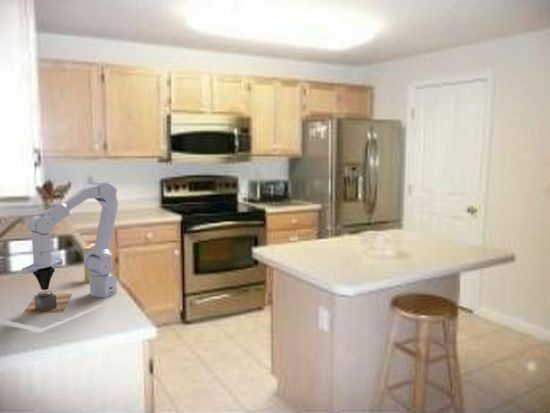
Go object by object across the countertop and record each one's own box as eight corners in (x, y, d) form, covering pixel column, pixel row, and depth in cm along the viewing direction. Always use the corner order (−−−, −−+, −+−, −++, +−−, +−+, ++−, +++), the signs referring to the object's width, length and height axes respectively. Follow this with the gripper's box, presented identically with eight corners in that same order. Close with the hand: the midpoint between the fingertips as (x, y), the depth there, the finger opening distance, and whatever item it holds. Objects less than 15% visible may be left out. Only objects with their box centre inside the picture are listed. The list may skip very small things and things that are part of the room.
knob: (50, 304, 167) (49, 289, 166) (56, 307, 164) (55, 292, 163) (35, 307, 163) (34, 292, 163) (41, 311, 160) (40, 296, 159)
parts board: (35, 298, 176) (35, 295, 176) (72, 295, 180) (72, 292, 180) (21, 318, 156) (20, 315, 156) (63, 315, 160) (63, 312, 159)
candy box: (93, 277, 204) (91, 243, 202) (102, 277, 204) (101, 243, 202) (84, 283, 195) (82, 247, 193) (94, 283, 195) (92, 247, 193)
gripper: (52, 245, 169) (54, 282, 171) (14, 254, 156) (17, 293, 158) (66, 247, 166) (68, 284, 168) (29, 256, 153) (32, 296, 155)
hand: (44, 289), depth 163 cm, fingers closed
